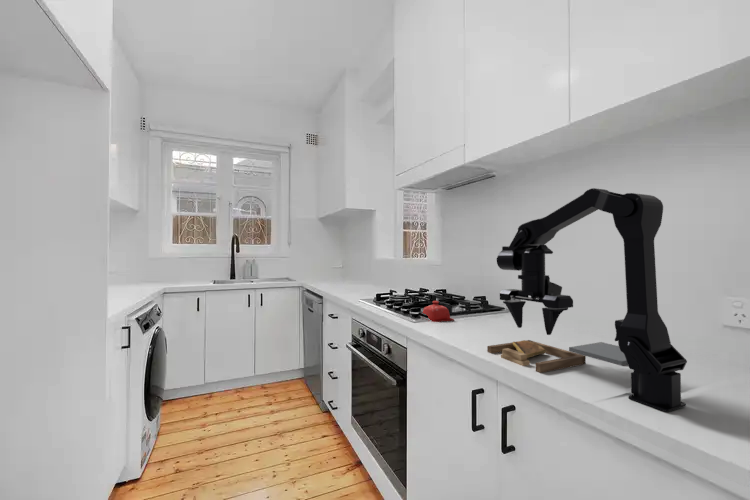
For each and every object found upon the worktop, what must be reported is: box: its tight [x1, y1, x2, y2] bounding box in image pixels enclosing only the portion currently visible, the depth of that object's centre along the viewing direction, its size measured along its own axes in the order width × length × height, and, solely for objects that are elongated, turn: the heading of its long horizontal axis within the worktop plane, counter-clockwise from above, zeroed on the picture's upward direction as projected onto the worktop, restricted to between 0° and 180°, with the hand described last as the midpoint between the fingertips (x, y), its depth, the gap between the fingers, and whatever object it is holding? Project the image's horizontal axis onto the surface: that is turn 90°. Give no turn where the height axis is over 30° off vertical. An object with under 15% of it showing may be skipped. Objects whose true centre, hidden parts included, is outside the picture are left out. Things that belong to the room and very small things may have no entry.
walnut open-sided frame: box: [486, 339, 587, 374], centre depth 91 cm, size 17×16×2 cm
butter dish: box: [422, 300, 455, 323], centre depth 141 cm, size 12×12×8 cm
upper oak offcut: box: [501, 348, 528, 361], centre depth 88 cm, size 6×2×2 cm, turn 26°
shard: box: [512, 340, 546, 359], centre depth 93 cm, size 11×8×2 cm
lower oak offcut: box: [500, 354, 530, 367], centre depth 88 cm, size 7×2×2 cm, turn 25°
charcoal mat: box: [568, 341, 628, 366], centre depth 94 cm, size 14×14×1 cm
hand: (533, 331), depth 91 cm, fingers open, 9 cm apart
